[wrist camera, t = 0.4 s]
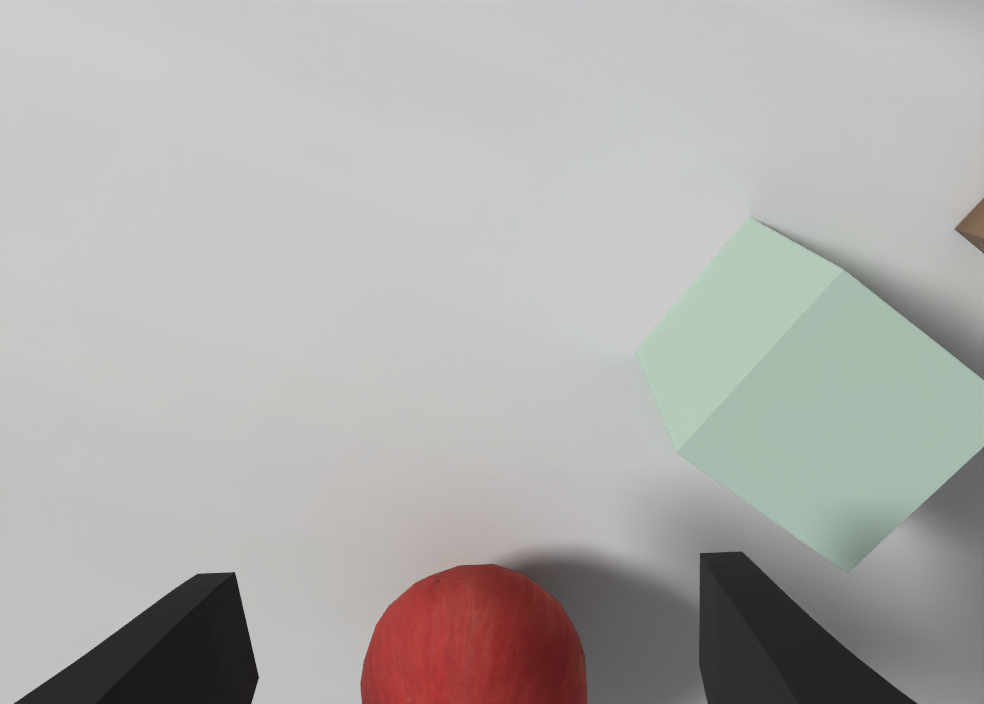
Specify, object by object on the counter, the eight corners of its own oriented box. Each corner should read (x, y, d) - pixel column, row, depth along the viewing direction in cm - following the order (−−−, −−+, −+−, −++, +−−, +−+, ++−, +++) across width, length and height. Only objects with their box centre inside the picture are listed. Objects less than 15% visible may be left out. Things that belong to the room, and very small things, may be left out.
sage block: (879, 319, 20) (1022, 410, 14) (760, 443, 21) (847, 573, 15) (749, 216, 19) (843, 269, 13) (634, 352, 20) (675, 452, 14)
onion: (581, 666, 24) (605, 937, 16) (401, 671, 24) (341, 936, 16) (574, 505, 22) (598, 725, 14) (379, 512, 22) (300, 730, 15)
